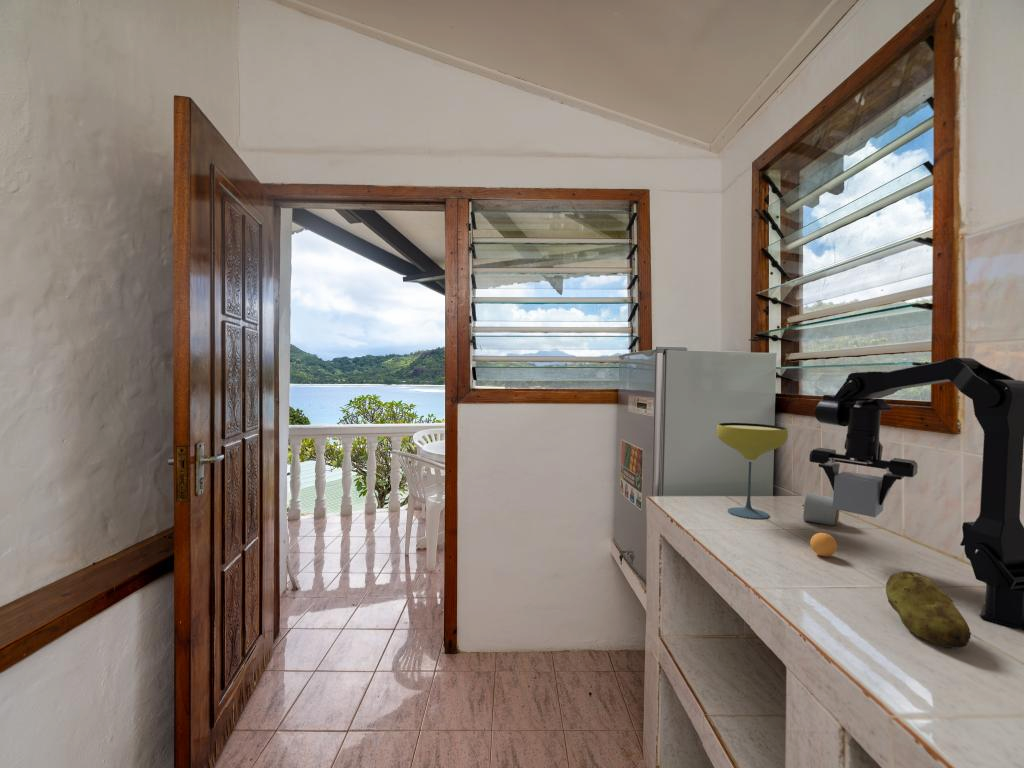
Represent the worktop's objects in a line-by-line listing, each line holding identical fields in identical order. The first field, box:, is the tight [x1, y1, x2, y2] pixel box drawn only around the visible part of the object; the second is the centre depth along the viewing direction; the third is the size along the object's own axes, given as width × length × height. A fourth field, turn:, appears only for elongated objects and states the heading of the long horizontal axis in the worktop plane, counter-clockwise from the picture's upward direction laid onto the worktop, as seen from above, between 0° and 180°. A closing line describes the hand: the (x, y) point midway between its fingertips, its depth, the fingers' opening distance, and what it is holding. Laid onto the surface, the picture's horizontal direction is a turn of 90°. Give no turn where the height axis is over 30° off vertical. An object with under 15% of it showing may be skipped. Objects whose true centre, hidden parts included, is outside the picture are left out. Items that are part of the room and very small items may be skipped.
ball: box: [809, 532, 838, 557], centre depth 111 cm, size 5×5×5 cm
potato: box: [885, 571, 972, 649], centre depth 79 cm, size 8×13×8 cm, turn 158°
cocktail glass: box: [716, 422, 789, 520], centre depth 143 cm, size 18×18×25 cm
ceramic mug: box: [802, 492, 840, 526], centre depth 137 cm, size 11×8×8 cm
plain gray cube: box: [832, 470, 885, 518], centre depth 110 cm, size 8×8×7 cm
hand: (858, 500), depth 110 cm, fingers closed on plain gray cube, 8 cm apart
